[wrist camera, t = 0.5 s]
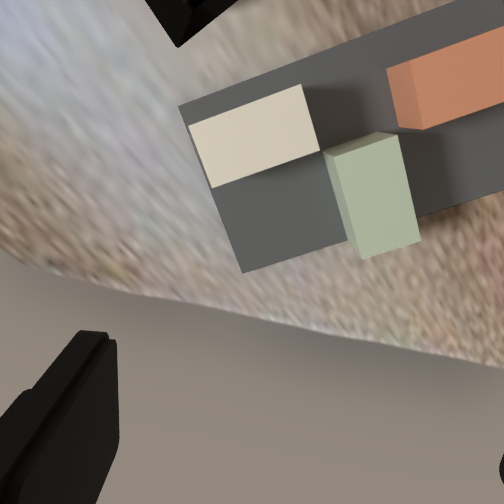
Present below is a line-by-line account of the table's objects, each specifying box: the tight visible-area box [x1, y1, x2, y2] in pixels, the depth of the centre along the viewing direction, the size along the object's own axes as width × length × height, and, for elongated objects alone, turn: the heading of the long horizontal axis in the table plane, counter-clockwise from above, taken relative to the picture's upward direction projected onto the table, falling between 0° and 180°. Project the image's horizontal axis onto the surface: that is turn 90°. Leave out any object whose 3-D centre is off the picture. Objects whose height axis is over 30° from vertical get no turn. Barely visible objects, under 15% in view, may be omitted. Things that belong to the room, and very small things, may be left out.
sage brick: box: [323, 132, 421, 259], centre depth 31 cm, size 8×4×5 cm, turn 19°
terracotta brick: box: [386, 26, 504, 130], centre depth 29 cm, size 8×4×5 cm, turn 109°
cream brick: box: [188, 84, 320, 188], centre depth 30 cm, size 8×4×5 cm, turn 109°
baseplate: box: [178, 0, 504, 274], centre depth 33 cm, size 25×15×1 cm, turn 109°
